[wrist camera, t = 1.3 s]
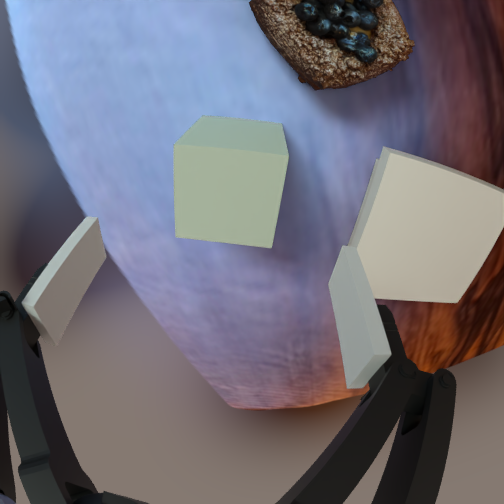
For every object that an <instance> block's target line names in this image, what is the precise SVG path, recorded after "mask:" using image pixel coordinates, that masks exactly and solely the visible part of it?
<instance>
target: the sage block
mask: <svg viewBox="0 0 504 504" xmlns="http://www.w3.org/2000/svg"><path fill="white" fill-rule="evenodd" d="M288 159H289V154H288V149H287V145H286V140H285V136H284V131H283V127H282V124H281V123H274V122H267V121H259V120H251V119H241V118H231V117H219V116H205V115H203V116H202V117H201V118H199V119H198V120H197V121H196V122H195V123H194V124H193V125H192V126H191V127H190V128H189V129H188V130H187V131H186V132H185V133H184V134H183V135H182V136H181V138H180V139H179V140H178V141H177V142H176V143H175V144H174V209H175V233H176V237H178V238H187V239H196V240H205V241H213V242H222V243H231V244H239V245H248V246H256V247H265V248H272V244H273V239H274V234H275V229H276V224H277V218H278V213H279V208H280V202H281V197H282V192H283V186H284V181H285V175H286V170H287V164H288Z"/></svg>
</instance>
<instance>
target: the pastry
mask: <svg viewBox="0 0 504 504" xmlns="http://www.w3.org/2000/svg"><path fill="white" fill-rule="evenodd" d="M249 4H250V7H251V10H252V11H253V13H254V16H255V18H256V21H257V23H258V24H259V26H260V27H261V29H262V31H263V32H264V34H265V35H266V37H267V38H268V39H269V41H270V42H271V44H272V45H273V46H274V47H275V48H276V49H277V50H278V52H279V53H280V54H281V55H282V56H283V58H284V59H285V60H286V61H287V62H288V63H289V64H290V66H291V67H292V68H293V69H294V70H295V71H296V72H297V73H298V74H299V75H300V76H299V77H298V79H299V81H300V82H301V83H306V82H307V83H308V84H309V85H310V86H312V88H314V90H320V89H328V88H332V89H337V88H346V87H349V86H352V85H355V84H358V83H361V82H364V81H367V80H369V79H371V78H376V77H377V76H378V75H380V74H382V73H384V72H386V71H388V70H390V71H392V70H393V69H392V68H393V67H395V66H396V65H397V64H398V63H399V62H400V61H405V60H407V59H408V58H409V56H408V55H409V54H410V53H412V52H413V50H412V47H413V46H415V45H414V41H413V40H410V39H409V35H408V33H407V32H406V28H405V25H404V23H403V21H402V18H401V16H400V13H399V12H398V10H397V8H396V6H395V5H394V3H393V2H392V0H251V1H250V2H249Z"/></svg>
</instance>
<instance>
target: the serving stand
mask: <svg viewBox="0 0 504 504" xmlns="http://www.w3.org/2000/svg"><path fill="white" fill-rule="evenodd" d="M503 227H504V190H503V189H501V188H499V187H497V186H494V185H492V184H490V183H487V182H485V181H483V180H480V179H478V178H476V177H473V176H471V175H468V174H466V173H463V172H461V171H458V170H455V169H453V168H450V167H447V166H444V165H442V164H439V163H436V162H433V161H430V160H427V159H424V158H421V157H418V156H415V155H411V154H408V153H405V152H401V151H398V150H394V149H391V148H387V147H384V146H383V149H382V152H381V156H380V159H378V158H376V161H375V165H374V168H373V171H372V175H371V178H370V181H369V184H368V188H367V191H366V194H365V197H364V200H363V203H362V206H361V209H360V212H359V215H358V218H357V221H356V223H355V226H354V229H353V232H352V235H351V237H350V240H349V243H348V246H351V247H356V249H357V252H358V254H359V257H360V260H361V262H362V265H363V268H364V270H365V273H366V276H367V279H368V281H369V284H370V287H371V290H372V293H373V296H374V298H377V299H392V300H407V301H424V302H444V303H457V302H458V301H459V300H460V298H461V297H462V295H463V294H464V292H465V291H466V289H467V288H468V286H469V285H470V283H471V282H472V280H473V279H474V277H475V276H476V274H477V273H478V271H479V269H480V268H481V266H482V264H483V263H484V261H485V259H486V258H487V256H488V254H489V253H490V251H491V249H492V247H493V246H494V244H495V242H496V240H497V238H498V236H499V234H500V233H501V231H502V229H503Z"/></svg>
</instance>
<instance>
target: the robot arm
mask: <svg viewBox="0 0 504 504" xmlns="http://www.w3.org/2000/svg"><path fill="white" fill-rule="evenodd" d="M105 258H106V254H105V249H104V245H103V240H102V236H101V231H100V226H99V221H98V218H96V217H86V218H85V219H84V220H83V222H82V223H81V224H80V225H79V226H78V227H77V229H76V230H75V231H74V232H73V233H72V235H71V236H70V237H69V238H68V239H67V241H66V242H65V243H64V244H63V246H62V247H61V248H60V249H59V251H58V252H57V253H56V255H55V256H54V257H53V259H52V260H51V261H50V263H49V264H46V263H45V264H44V265H43V266H41V267H40V268H39V269H37V271H36V272H35V274H34V275H33V276H32V278H31V279H30V281H29V282H28V284H27V285H26V286H25V288H24V289H23V291H22V292H21V293H20V295H19V296H18V298H17V300H16V301H15V302H14V300H13V299H12V297H11V295H10V293H9V292H7V291H1V292H0V504H16V493H15V483H14V476H13V470H12V463H11V455H10V446H9V434H8V416H7V410H8V415H9V419H10V423H11V427H12V431H13V435H14V438H15V442H16V445H17V448H18V452H19V455H20V458H21V464H20V466H19V467H18V473H19V476H20V479H21V481H22V484H23V487H24V489H25V492H26V494H27V496H28V499H29V501H30V503H31V504H148V503H146V502H142V501H139V500H135V499H132V498H128V497H124V496H120V495H116V494H113V493H109V492H106V491H104V492H103V493H98V491H97V490H96V488H95V486H94V484H93V483H92V481H91V480H90V478H89V477H88V476H87V475H86V473H85V472H84V471H83V470H82V468H81V466H80V464H79V462H78V460H77V458H76V456H75V453H74V451H73V449H72V446H71V444H70V442H69V439H68V437H67V434H66V432H65V429H64V426H63V424H62V421H61V418H60V415H59V413H58V410H57V407H56V404H55V400H54V397H53V394H52V391H51V387H50V384H49V380H48V377H47V373H46V369H45V365H44V361H43V356H42V352H41V347H40V344H39V341H38V338H39V336H40V335H41V337H42V338H43V340H44V341H45V342H46V343H48V344H52V345H54V346H57V345H58V343H59V341H60V339H61V337H62V335H63V333H64V331H65V329H66V327H67V325H68V323H69V321H70V319H71V317H72V315H73V314H74V312H75V310H76V308H77V306H78V304H79V303H80V301H81V299H82V297H83V295H84V293H85V292H86V290H87V288H88V287H89V285H90V283H91V281H92V280H93V278H94V276H95V275H96V273H97V271H98V270H99V268H100V266H101V265H102V263H103V262H104V260H105ZM328 285H329V290H330V295H331V300H332V305H333V310H334V315H335V320H336V325H337V331H338V336H339V342H340V347H341V353H342V359H343V365H344V371H345V378H346V385H347V389H350V388H363V387H364V386H365V385H366V384H367V383H368V382H369V387H370V390H369V391H368V392H367V393H366V394H365V395H364V396H363V397H362V398H361V400H362V401H361V402H360V404H359V405H358V406H357V408H356V410H355V411H354V412H353V414H352V415H351V416H350V418H349V419H348V421H347V422H346V423H345V425H344V426H343V427H342V429H341V430H340V431H339V433H338V434H337V435H336V437H335V438H334V439H333V441H332V442H331V443H330V444H329V446H328V447H327V448H326V449H325V450H324V452H323V453H322V454H321V455H320V456H319V458H318V459H317V460H316V461H315V462H314V464H313V465H312V466H311V467H310V468H309V469H308V470H307V471H306V473H305V474H304V475H303V476H302V477H301V478H300V479H299V480H298V481H297V482H296V483H295V485H294V486H293V487H292V488H291V489H290V490H289V491H288V492H287V493H286V494H285V495H284V496H283V497H282V498H281V499H280V500H279V501H278V502H277V503H276V504H343V502H344V501H345V500H346V499H347V497H348V496H349V495H350V493H351V492H352V491H353V490H354V488H355V487H356V486H357V484H358V483H359V481H360V480H361V479H362V477H363V476H364V474H365V473H366V471H367V470H368V469H369V467H370V465H371V464H372V463H373V461H374V459H375V458H376V456H377V455H378V453H379V452H380V450H381V448H382V447H383V445H384V443H385V442H386V440H387V438H388V437H389V435H390V433H391V431H392V430H393V428H394V426H395V424H396V423H397V421H398V419H399V417H400V420H399V424H398V428H397V432H396V435H395V439H394V442H393V445H392V449H391V452H390V455H389V458H388V461H387V464H386V467H385V470H384V473H383V475H382V479H381V481H380V484H379V486H378V489H377V491H376V494H375V496H374V499H373V501H372V503H371V504H435V502H436V499H437V496H438V492H439V489H440V485H441V481H442V477H443V473H444V469H445V464H446V459H447V455H448V449H449V444H450V437H451V431H452V424H453V416H454V407H455V396H456V380H455V377H454V375H453V374H452V373H451V372H450V371H448V370H447V369H438V370H437V371H436V372H435V373H434V374H431V373H427V372H424V371H420V370H418V368H417V366H416V364H415V363H414V362H413V361H411V360H409V359H407V357H406V354H405V351H404V347H403V344H402V341H401V338H400V335H399V332H398V329H397V326H396V324H395V320H394V317H393V314H392V313H391V311H390V310H389V309H388V307H387V306H386V305H376V302H375V299H374V296H373V293H372V290H371V287H370V284H369V281H368V279H367V276H366V273H365V270H364V268H363V265H362V262H361V260H360V257H359V254H358V252H357V249H356V247H351V246H344V245H342V248H341V251H340V254H339V256H338V259H337V262H336V265H335V267H334V270H333V273H332V275H331V278H330V281H329V283H328ZM400 415H401V416H400Z"/></svg>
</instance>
